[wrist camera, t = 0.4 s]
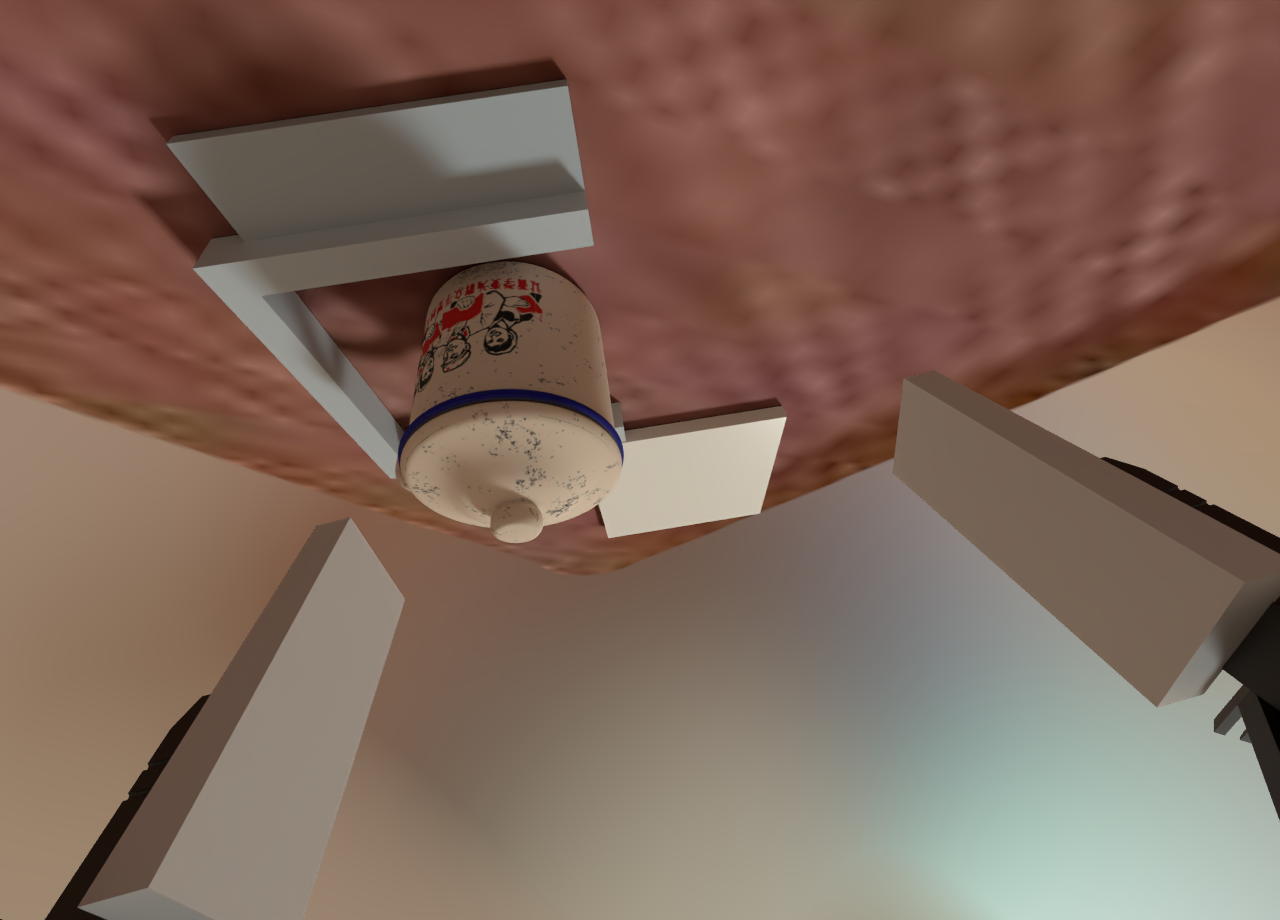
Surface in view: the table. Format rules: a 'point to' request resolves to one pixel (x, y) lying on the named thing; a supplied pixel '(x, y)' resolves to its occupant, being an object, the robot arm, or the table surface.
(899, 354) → the table surface
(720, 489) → the mat
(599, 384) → the teacup with lid
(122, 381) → the table surface
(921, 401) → the robot arm
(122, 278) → the table surface
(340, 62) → the table surface
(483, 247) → the cradle
